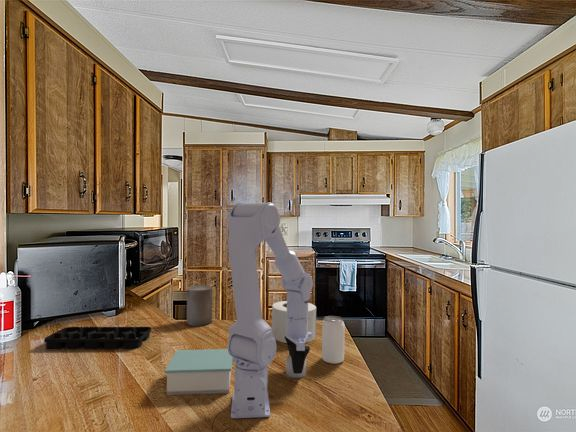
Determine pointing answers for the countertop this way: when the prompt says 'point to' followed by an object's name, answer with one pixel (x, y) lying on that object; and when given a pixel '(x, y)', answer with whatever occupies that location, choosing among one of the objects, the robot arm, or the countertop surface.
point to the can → (333, 339)
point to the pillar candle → (199, 305)
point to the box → (198, 383)
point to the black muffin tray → (98, 337)
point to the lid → (200, 361)
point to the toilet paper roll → (280, 321)
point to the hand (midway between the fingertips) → (296, 367)
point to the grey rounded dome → (290, 369)
